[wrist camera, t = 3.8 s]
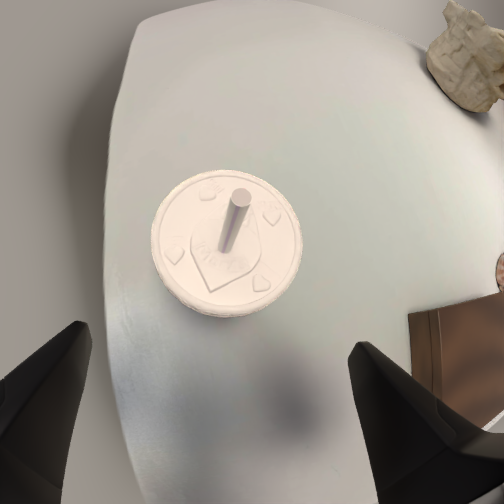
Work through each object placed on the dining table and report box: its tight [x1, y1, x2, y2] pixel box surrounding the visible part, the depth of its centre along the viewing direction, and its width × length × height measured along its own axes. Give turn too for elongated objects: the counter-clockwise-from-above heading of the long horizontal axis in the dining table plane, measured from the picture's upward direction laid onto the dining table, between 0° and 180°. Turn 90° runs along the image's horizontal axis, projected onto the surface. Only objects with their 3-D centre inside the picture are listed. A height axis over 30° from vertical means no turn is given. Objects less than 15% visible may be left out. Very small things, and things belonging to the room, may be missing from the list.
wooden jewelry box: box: [408, 291, 504, 428], centre depth 20 cm, size 14×14×4 cm
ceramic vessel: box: [426, 0, 504, 112], centre depth 31 cm, size 23×24×25 cm
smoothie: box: [151, 170, 303, 318], centre depth 14 cm, size 6×6×14 cm
